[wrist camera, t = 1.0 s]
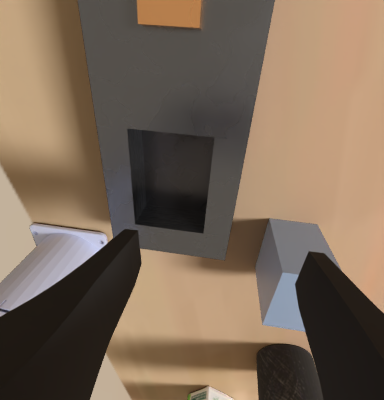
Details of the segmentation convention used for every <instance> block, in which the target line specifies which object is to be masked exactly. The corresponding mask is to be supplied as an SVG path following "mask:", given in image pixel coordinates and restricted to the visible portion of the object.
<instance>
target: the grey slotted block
mask: <svg viewBox="0 0 384 400" xmlns="http://www.w3.org/2000/svg"><path fill="white" fill-rule="evenodd" d="M274 2H275V0H78V6H79V13H80V20H81V26H82V33H83V40H84V46H85V53H86V60H87V66H88V73H89V79H90V86H91V93H92V99H93V106H94V113H95V119H96V126H97V133H98V139H99V146H100V153H101V159H102V166H103V172H104V179H105V186H106V192H107V199H108V206H109V212H110V219H111V226H112V232H113V238H114V237H115V236H117V235H118V234H119V233H120V232H121V231H123V230H124V229H130V230H138V234H139V244H140V248H141V249H148V250H155V251H162V252H169V253H176V254H184V255H191V256H198V257H205V258H212V259H219V260H225V257H226V252H227V246H228V241H229V236H230V231H231V226H232V220H233V215H234V210H235V205H236V200H237V194H238V189H239V184H240V179H241V174H242V168H243V163H244V158H245V153H246V148H247V142H248V137H249V132H250V127H251V122H252V116H253V111H254V106H255V101H256V95H257V90H258V85H259V80H260V75H261V69H262V64H263V59H264V54H265V49H266V43H267V38H268V33H269V28H270V23H271V17H272V12H273V7H274Z"/></svg>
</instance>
